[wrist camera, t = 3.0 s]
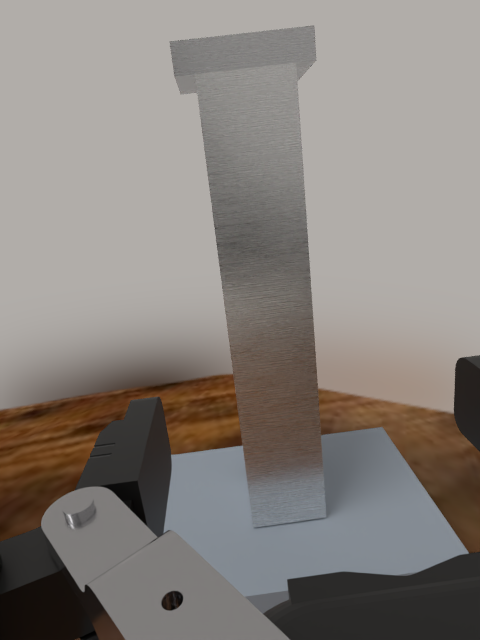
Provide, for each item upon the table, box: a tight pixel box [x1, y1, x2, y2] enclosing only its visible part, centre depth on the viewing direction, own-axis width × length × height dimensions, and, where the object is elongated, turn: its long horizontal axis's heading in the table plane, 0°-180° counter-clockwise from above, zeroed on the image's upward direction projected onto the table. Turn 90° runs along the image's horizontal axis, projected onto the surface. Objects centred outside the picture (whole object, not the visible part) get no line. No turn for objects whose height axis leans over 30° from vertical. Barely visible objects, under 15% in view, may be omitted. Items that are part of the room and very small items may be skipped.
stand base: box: [163, 427, 469, 614], centre depth 26 cm, size 16×12×10 cm
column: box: [170, 26, 326, 528], centre depth 23 cm, size 6×5×23 cm
